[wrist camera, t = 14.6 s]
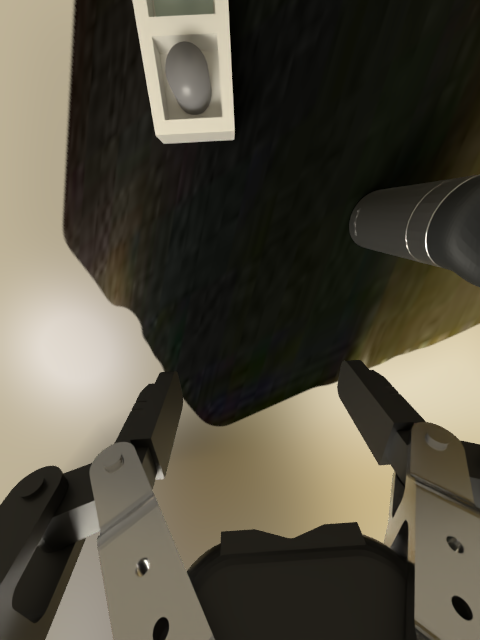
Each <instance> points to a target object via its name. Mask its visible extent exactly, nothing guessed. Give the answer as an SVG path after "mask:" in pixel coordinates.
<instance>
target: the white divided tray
mask: <svg viewBox="0 0 480 640" xmlns="http://www.w3.org/2000/svg"><path fill="white" fill-rule="evenodd" d="M133 6H134V12H135V18H136V23H137V29H138V35H139V41H140V47H141V53H142V58H143V64H144V70H145V76H146V82H147V88H148V93H149V99H150V105H151V111H152V117H153V123H154V128H155V134H156V136H157V137H158V138H159V139H160V140H161V141H162V142H163V143H164V144H168V143H186V142H204V141H222V140H234V136H235V127H234V107H233V87H232V66H231V46H230V26H229V6H228V0H133Z"/></svg>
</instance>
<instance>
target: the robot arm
mask: <svg viewBox="0 0 480 640" xmlns="http://www.w3.org/2000/svg"><path fill="white" fill-rule="evenodd" d="M349 230H350V235H351V237H352V239H353V240H354V242H355V243H357V244H358V245H359V246H362V247H364V248H368V249H372V250H376V251H379V252H383V253H387V254H391V255H395V256H399V257H402V258H406V259H410V260H414V261H418V262H422V263H426V264H430V265H434V266H438V267H441V268H445V269H449V270H452V271H454V272H455V273H456V274H458V275H459V276H460V277H462V278H463V279H465V280H466V281H468V282H469V283H471V284H473V285H476V286H478V287H480V175H474V176H468V177H461V178H456V179H449V180H442V181H436V182H429V183H422V184H416V185H409V186H403V187H395V188H389V189H382V190H377V191H374V192H371V193H370V194H368V195H366V196H365V197H364V198H362V199H361V200H360V201H359V203H358V204H357V205H356V207H355V208H354V210H353V212H352V214H351V217H350V222H349ZM337 388H338V394H339V397H340V399H341V401H342V403H343V404H344V406H345V408H346V409H347V411H348V413H349V415H350V416H351V418H352V420H353V421H354V423H355V425H356V427H357V428H358V430H359V431H360V433H361V435H362V437H363V438H364V440H365V442H366V444H367V445H368V447H369V449H370V450H371V452H372V454H373V456H374V457H375V459H376V461H377V462H378V464H379V465H388V464H389V465H390V464H391V466H392V467H393V469H394V473H393V478H392V489H391V499H390V510H389V520H388V527H387V531H386V535H385V539H384V544H383V543H381V542H379V541H377V540H375V539H373V538H370V537H368V536H366V535H362V533H361V531H360V528H359V526H358V523H357V522H353V523H338V524H324V525H322V526H319V527H317V528H315V529H313V530H311V531H308V532H306V533H304V534H302V535H300V536H298V537H295V538H285V537H281V536H278V535H274V534H270V533H266V532H263V531H259V530H255V529H253V530H239V531H225V532H221V543H220V544H218V545H216V546H214V547H212V548H211V549H210V550H208V551H206V552H205V553H204V554H203V555H201V556H200V557H199V558H198V559H197V560H196V561H195V562H194V563H193V564H192V565H191V567H190V568H189V569H188V571H187V572H186V569H185V567H184V565H183V562H182V560H181V558H180V555H179V552H178V550H177V548H176V546H175V543H174V540H173V538H172V536H171V533H170V531H169V529H168V526H167V524H166V521H165V519H164V516H163V514H162V512H161V509H160V507H159V505H158V502H157V500H156V497H155V495H154V493H153V491H152V489H153V486H154V482H155V479H164V478H165V475H166V471H167V467H168V463H169V459H170V455H171V451H172V447H173V443H174V439H175V435H176V431H177V427H178V423H179V419H180V415H181V411H182V406H183V395H182V390H181V386H180V381H179V376H178V373H177V371H173V372H161V373H160V374H159V376H158V378H157V380H156V382H155V384H148V385H147V386H146V387H145V388H144V389H143V390H142V392H141V393H140V394H139V397H138V398H137V400H136V403H135V404H134V406H133V408H132V411H131V412H130V414H129V416H128V418H127V420H126V422H125V424H124V426H123V428H122V430H121V432H120V434H119V436H118V438H117V440H116V442H115V443H114V444H113V445H111V446H109V447H107V448H106V449H104V450H103V451H102V452H101V453H100V454H98V456H97V457H96V458H95V460H94V461H93V463H91V464H88V465H86V466H83V467H80V468H77V469H75V470H72V471H69V472H66V473H64V474H63V473H62V471H61V470H60V468H58V467H56V466H47V467H43V468H41V469H38V470H36V471H34V472H32V473H31V474H29V475H28V476H26V477H25V478H24V479H22V480H21V481H20V482H19V483H18V484H17V485H16V486H15V487H14V488H13V489H12V490H11V492H10V493H9V494H8V496H7V497H6V498H5V500H4V501H3V502H2V504H1V505H0V640H45V639H46V636H47V634H48V631H49V629H50V626H51V624H52V621H53V619H54V616H55V614H56V611H57V609H58V606H59V604H60V601H61V599H62V597H63V594H64V592H65V589H66V586H67V584H68V582H69V579H70V577H71V574H72V571H73V569H74V567H75V564H76V562H77V559H78V557H79V554H80V552H81V549H82V547H83V544H84V542H85V539H86V537H88V536H90V535H92V534H95V533H97V532H99V531H100V536H98V538H97V546H98V552H99V558H100V565H101V570H102V576H103V581H104V588H105V593H106V599H107V605H108V611H109V616H110V622H111V628H112V634H113V640H480V445H479V444H475V443H470V442H464V441H460V440H459V439H458V438H457V437H456V436H454V435H453V434H452V433H451V432H449V431H448V430H446V429H444V428H442V427H440V426H438V425H436V424H433V423H428V422H425V420H424V419H423V418H422V417H421V416H420V415H419V414H418V413H417V412H416V411H415V410H414V409H413V408H412V406H411V405H410V404H409V403H408V402H407V401H406V400H405V399H404V398H403V397H402V396H401V395H400V394H399V393H398V391H396V389H395V388H394V387H392V385H391V384H390V383H389V382H388V381H387V380H386V378H384V377H383V376H381V375H380V374H379V373H377V372H375V371H374V370H369V369H368V368H367V367H366V366H365V364H364V363H363V362H362V361H361V360H351V361H343V362H342V364H341V369H340V374H339V380H338V386H337Z"/></svg>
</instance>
